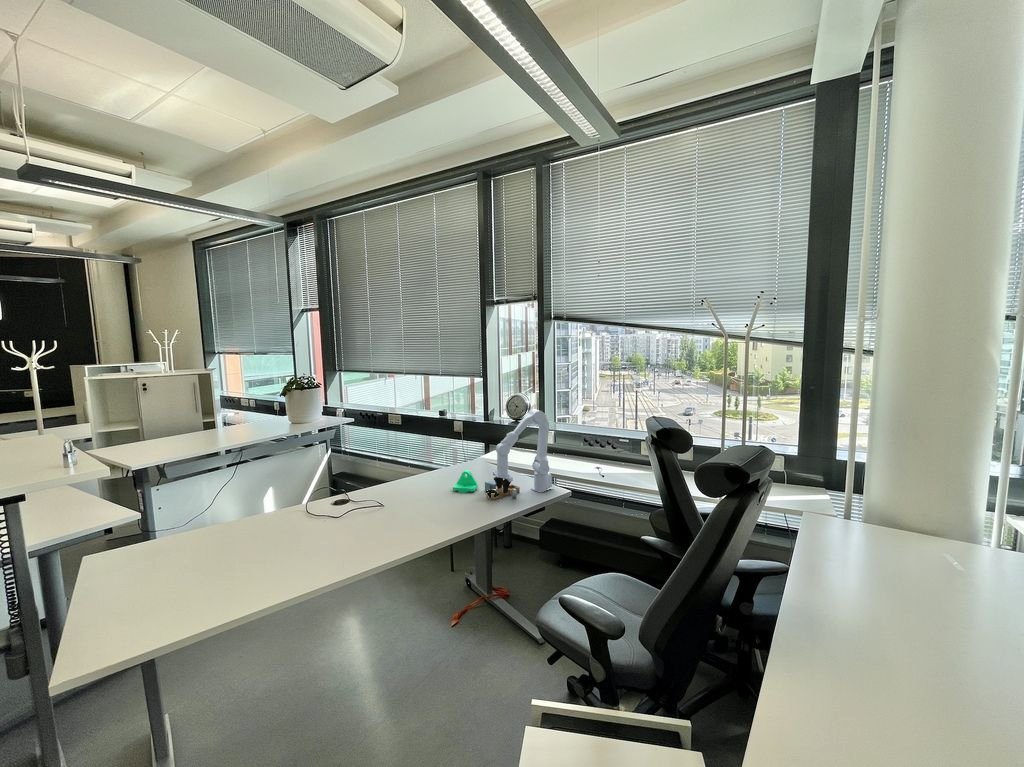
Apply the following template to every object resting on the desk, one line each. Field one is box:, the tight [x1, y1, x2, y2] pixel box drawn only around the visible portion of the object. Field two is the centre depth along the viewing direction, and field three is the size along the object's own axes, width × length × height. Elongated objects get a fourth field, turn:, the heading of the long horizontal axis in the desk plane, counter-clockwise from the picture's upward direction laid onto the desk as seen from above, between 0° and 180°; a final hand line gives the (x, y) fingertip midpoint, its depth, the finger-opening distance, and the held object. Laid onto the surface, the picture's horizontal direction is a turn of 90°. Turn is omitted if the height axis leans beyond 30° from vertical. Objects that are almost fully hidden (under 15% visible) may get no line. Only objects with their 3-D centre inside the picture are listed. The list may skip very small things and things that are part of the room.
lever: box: [486, 483, 521, 500], centre depth 235 cm, size 17×6×3 cm, turn 129°
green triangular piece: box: [452, 469, 479, 494], centre depth 242 cm, size 12×8×10 cm, turn 77°
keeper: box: [484, 479, 497, 492], centre depth 239 cm, size 7×5×5 cm
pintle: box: [511, 489, 518, 499], centre depth 230 cm, size 2×2×4 cm
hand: (502, 491), depth 234 cm, fingers closed on lever, 4 cm apart
